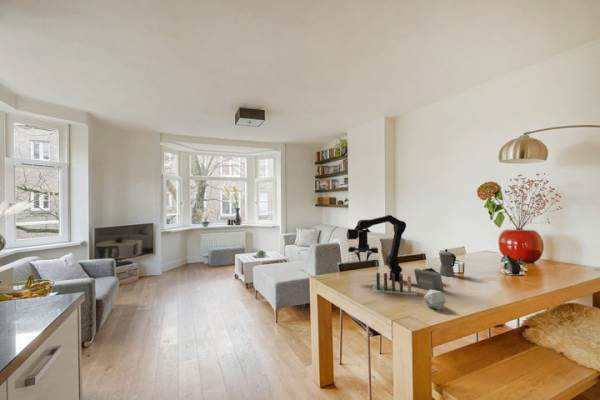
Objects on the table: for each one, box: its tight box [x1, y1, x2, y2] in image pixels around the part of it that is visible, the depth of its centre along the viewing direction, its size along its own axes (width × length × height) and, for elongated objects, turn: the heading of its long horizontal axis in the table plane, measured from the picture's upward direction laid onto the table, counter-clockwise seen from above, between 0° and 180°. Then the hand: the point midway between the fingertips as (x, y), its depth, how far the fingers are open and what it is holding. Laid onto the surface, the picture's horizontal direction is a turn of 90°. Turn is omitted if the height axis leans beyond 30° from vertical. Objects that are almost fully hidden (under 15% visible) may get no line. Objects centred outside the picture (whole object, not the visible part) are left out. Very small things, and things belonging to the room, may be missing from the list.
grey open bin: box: [422, 267, 439, 273], centre depth 175 cm, size 13×14×10 cm
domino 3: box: [391, 274, 396, 291], centre depth 159 cm, size 2×5×9 cm, turn 162°
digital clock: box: [413, 268, 445, 291], centre depth 162 cm, size 16×9×11 cm, turn 25°
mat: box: [371, 285, 417, 296], centre depth 159 cm, size 24×10×1 cm, turn 71°
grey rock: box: [423, 289, 446, 310], centre depth 134 cm, size 8×9×10 cm
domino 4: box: [399, 273, 404, 292], centre depth 158 cm, size 2×5×9 cm, turn 161°
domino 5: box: [406, 274, 412, 293], centre depth 156 cm, size 2×5×9 cm, turn 162°
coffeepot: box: [438, 248, 457, 278], centre depth 189 cm, size 15×9×18 cm, turn 9°
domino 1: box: [376, 272, 381, 290], centre depth 162 cm, size 2×5×9 cm, turn 162°
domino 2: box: [383, 272, 388, 291], centre depth 161 cm, size 2×5×9 cm, turn 161°
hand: (363, 262), depth 178 cm, fingers open, 4 cm apart
